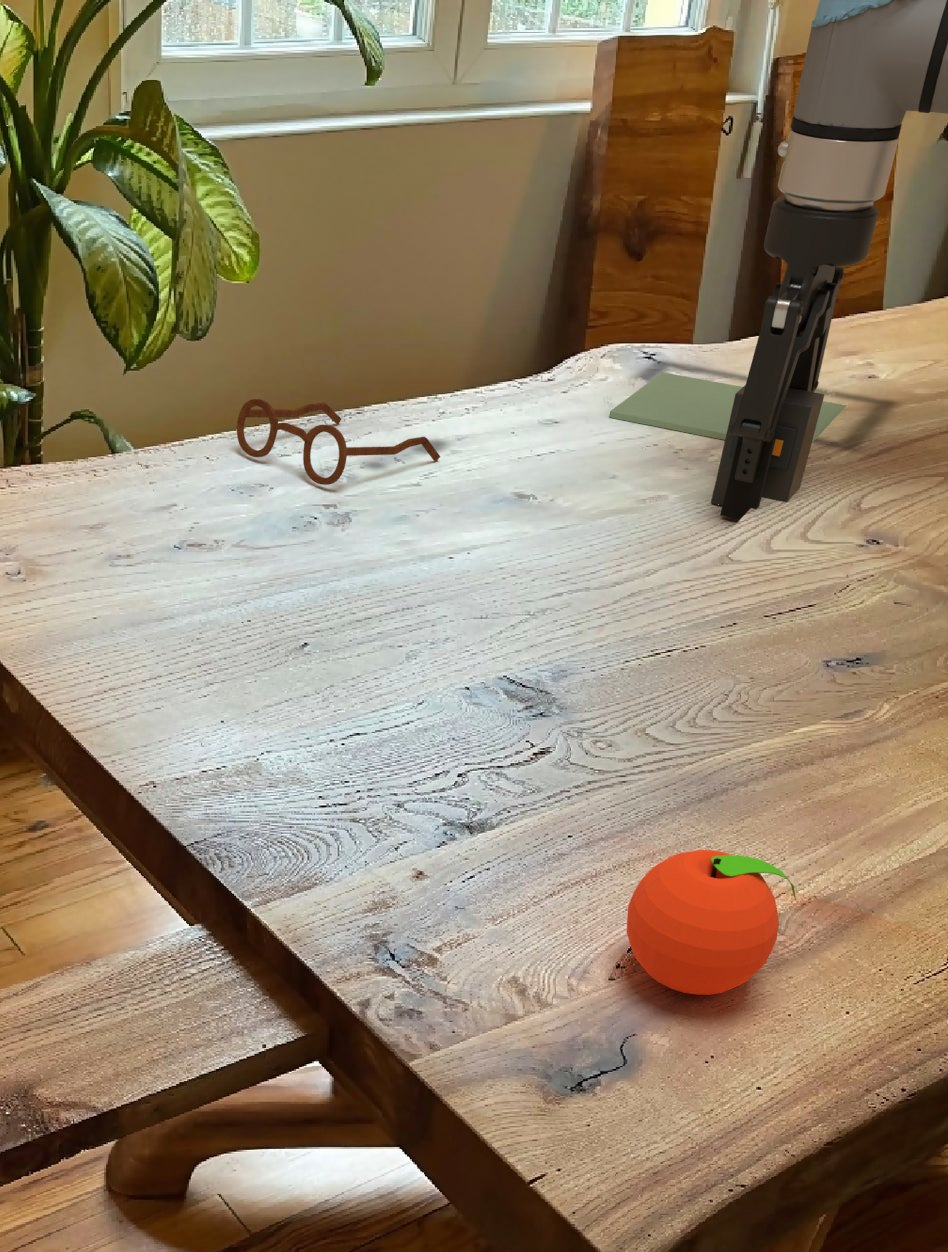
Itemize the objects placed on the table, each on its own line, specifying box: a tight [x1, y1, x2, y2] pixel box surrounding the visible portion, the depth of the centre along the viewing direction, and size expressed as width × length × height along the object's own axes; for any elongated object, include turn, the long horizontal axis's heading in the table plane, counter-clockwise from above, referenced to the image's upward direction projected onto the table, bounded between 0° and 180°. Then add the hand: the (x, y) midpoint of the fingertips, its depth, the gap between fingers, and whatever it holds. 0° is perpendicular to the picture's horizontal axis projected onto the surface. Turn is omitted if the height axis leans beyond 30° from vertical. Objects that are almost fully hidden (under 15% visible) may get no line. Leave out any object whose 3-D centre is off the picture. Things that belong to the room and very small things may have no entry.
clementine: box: [626, 849, 797, 996], centre depth 70 cm, size 8×7×7 cm
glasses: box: [236, 398, 441, 486], centre depth 128 cm, size 13×13×5 cm
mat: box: [608, 371, 848, 443], centre depth 140 cm, size 22×15×1 cm
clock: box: [710, 385, 825, 507], centre depth 120 cm, size 6×4×9 cm
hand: (754, 500), depth 122 cm, fingers open, 8 cm apart
